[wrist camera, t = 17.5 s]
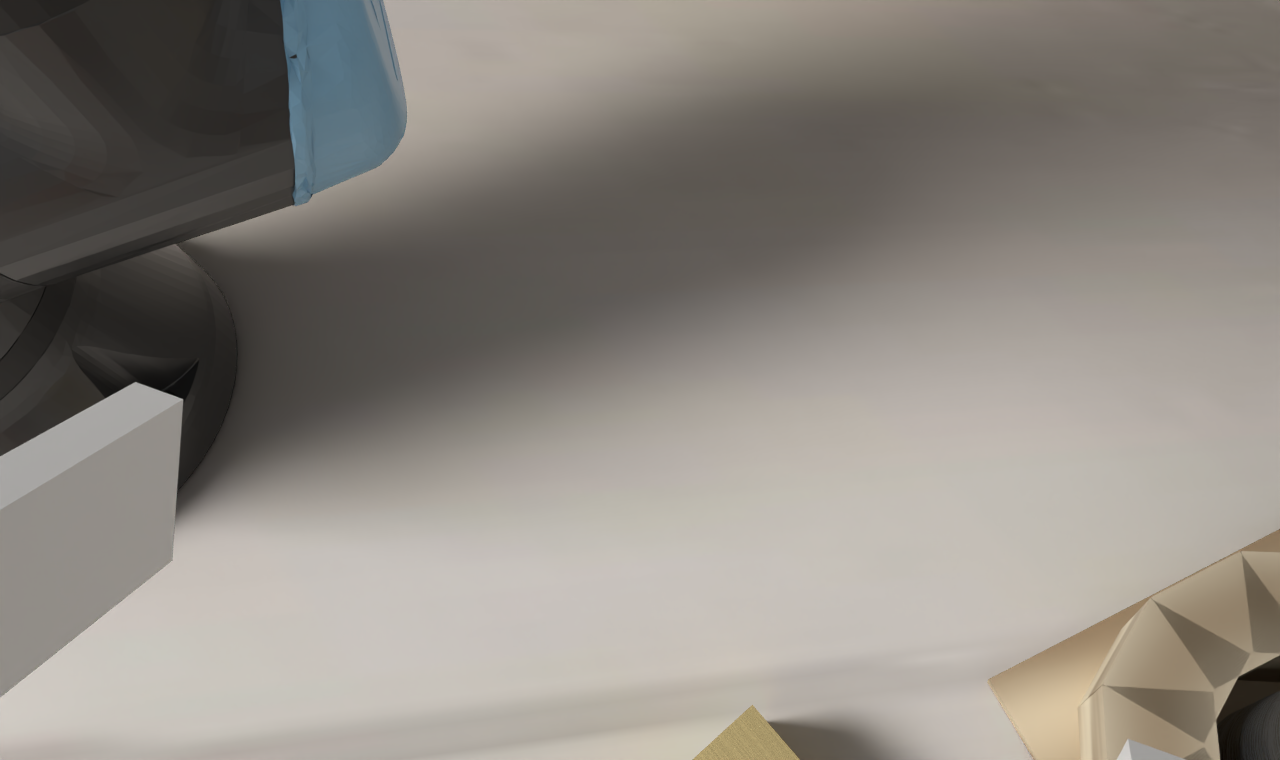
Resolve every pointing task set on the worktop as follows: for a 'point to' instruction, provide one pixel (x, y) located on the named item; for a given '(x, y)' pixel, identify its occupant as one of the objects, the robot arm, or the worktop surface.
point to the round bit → (1252, 731)
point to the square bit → (748, 741)
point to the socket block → (1156, 667)
